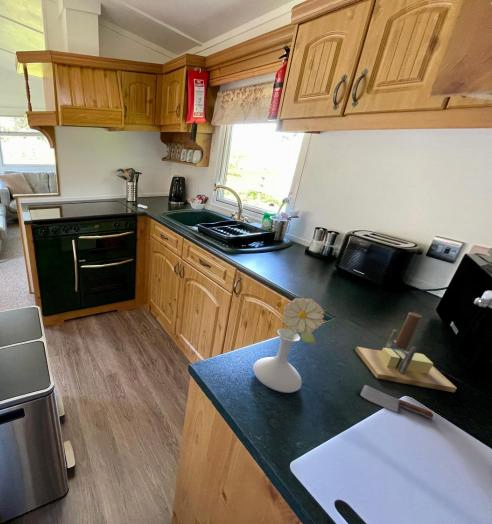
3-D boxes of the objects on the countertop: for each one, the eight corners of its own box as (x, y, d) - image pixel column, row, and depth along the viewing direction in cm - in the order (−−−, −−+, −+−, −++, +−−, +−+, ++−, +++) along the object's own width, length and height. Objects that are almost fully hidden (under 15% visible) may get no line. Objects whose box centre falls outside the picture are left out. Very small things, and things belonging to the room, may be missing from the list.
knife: (391, 357, 83) (413, 309, 78) (405, 372, 78) (430, 322, 72) (381, 355, 84) (402, 308, 78) (394, 370, 78) (418, 320, 72)
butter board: (422, 362, 85) (437, 333, 81) (454, 392, 74) (473, 361, 70) (355, 350, 88) (366, 322, 84) (376, 378, 77) (390, 347, 73)
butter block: (418, 364, 81) (423, 354, 80) (428, 374, 78) (433, 363, 76) (389, 359, 82) (394, 349, 81) (398, 368, 79) (403, 358, 78)
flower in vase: (243, 366, 77) (263, 282, 69) (279, 362, 80) (303, 281, 71) (274, 406, 66) (303, 310, 57) (315, 399, 68) (350, 307, 59)
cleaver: (360, 394, 70) (364, 380, 73) (358, 398, 71) (362, 384, 74) (434, 428, 62) (434, 411, 65) (431, 432, 63) (431, 415, 66)
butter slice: (386, 358, 83) (391, 348, 81) (395, 368, 79) (400, 357, 78) (378, 357, 83) (383, 347, 82) (386, 366, 79) (391, 356, 78)
